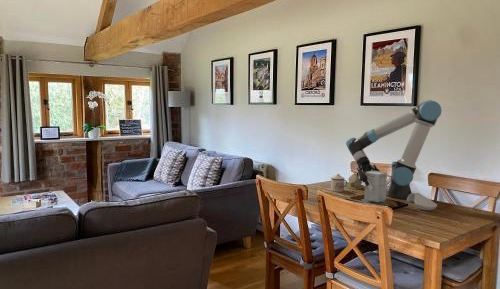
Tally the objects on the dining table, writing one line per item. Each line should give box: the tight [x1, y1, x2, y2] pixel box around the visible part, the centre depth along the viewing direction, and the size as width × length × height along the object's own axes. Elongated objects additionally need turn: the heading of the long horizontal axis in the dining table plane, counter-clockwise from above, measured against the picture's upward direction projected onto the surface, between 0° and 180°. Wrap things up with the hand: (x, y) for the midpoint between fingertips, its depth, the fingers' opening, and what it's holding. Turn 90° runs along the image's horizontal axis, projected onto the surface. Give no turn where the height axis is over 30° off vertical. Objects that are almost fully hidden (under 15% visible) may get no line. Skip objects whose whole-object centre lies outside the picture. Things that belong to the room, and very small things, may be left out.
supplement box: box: [363, 170, 388, 202], centre depth 229 cm, size 10×9×17 cm
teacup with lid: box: [330, 173, 349, 193], centre depth 265 cm, size 12×9×12 cm
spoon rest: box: [406, 192, 438, 211], centre depth 225 cm, size 24×12×7 cm, turn 6°
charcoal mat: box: [360, 198, 390, 207], centre depth 230 cm, size 13×13×1 cm
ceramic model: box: [346, 173, 363, 190], centre depth 276 cm, size 14×11×10 cm
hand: (379, 188), depth 226 cm, fingers closed on supplement box, 11 cm apart
